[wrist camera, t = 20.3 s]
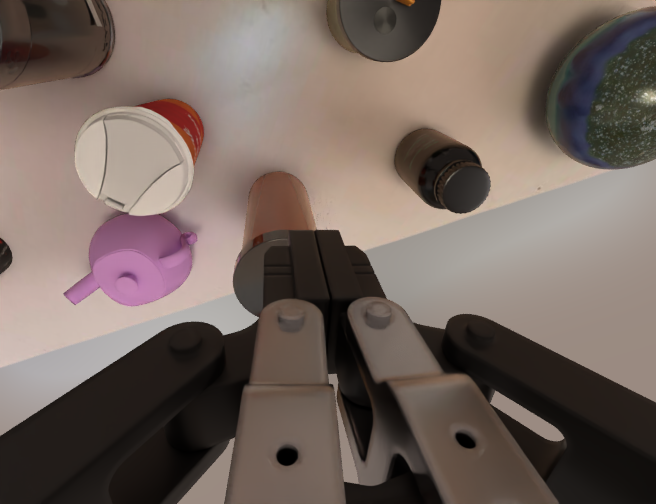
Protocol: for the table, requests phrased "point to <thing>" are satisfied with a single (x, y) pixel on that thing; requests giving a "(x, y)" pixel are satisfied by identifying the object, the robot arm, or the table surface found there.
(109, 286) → the teapot
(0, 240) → the deodorant
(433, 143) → the supplement bottle
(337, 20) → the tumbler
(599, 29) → the vase
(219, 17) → the table surface
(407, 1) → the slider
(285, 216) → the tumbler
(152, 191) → the coffee cup
